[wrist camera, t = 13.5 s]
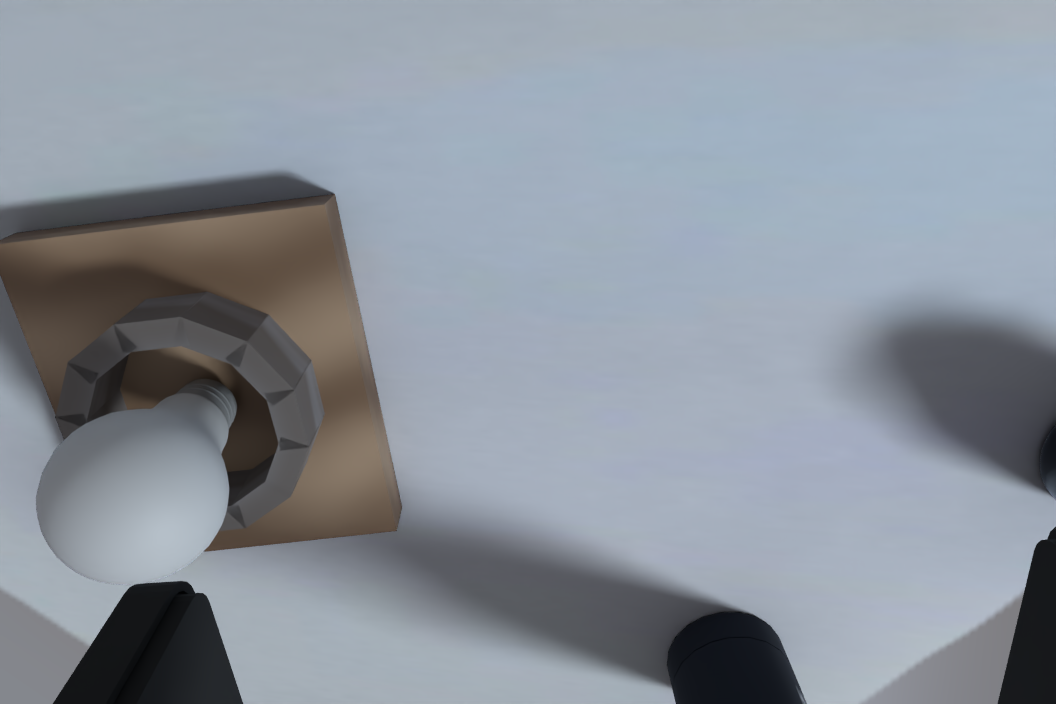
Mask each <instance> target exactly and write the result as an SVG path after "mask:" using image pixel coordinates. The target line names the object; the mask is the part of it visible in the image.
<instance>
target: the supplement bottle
mask: <svg viewBox="0 0 1056 704" xmlns="http://www.w3.org/2000/svg"><path fill="white" fill-rule="evenodd" d="M1040 473H1041V477H1042V481H1043V483H1044V485H1045V487H1046V489H1047V490H1048V492H1049V493H1050V494H1051V495H1052V496H1053V497H1054V499H1055V500H1056V425H1055V426H1054V428H1053V429H1052V430H1051V432H1050V433H1049V435H1048V437H1047V438H1046V440H1045V443H1044V445H1043V448H1042V451H1041V456H1040Z"/></svg>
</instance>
